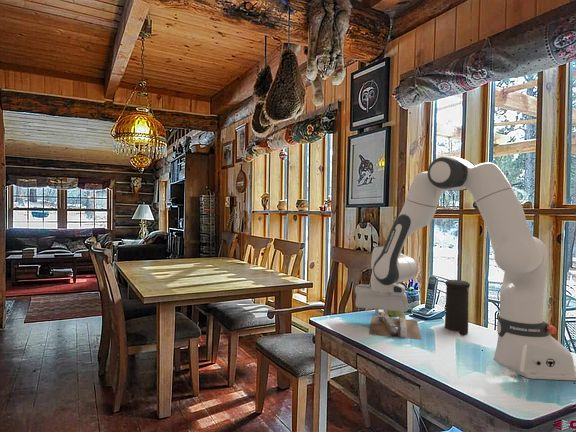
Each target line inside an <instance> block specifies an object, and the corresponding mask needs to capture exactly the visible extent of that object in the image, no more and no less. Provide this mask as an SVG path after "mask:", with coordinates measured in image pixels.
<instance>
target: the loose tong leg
mask: <svg viewBox="0 0 576 432" xmlns="http://www.w3.org/2000/svg"><path fill="white" fill-rule="evenodd" d="M380 314H381V315H382V316H383V314H384V312H381V313H380ZM391 318H392V317H390V315H389V314H388V313H387V314H386V315H385V317H384V321H383V322H384V324H385V325H386V327H387V328H388V330H389V331H390V333H391V335H392V336H398V327H396V325H395V324H394V322H393V321H392V320H391Z"/></svg>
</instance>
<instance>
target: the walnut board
mask: <svg viewBox="0 0 576 432" xmlns="http://www.w3.org/2000/svg"><path fill="white" fill-rule="evenodd" d="M390 318H391V320H392V321H393V322H394V324H395V325H396V327H398V336H392V335H391V333H390V331H389V330H388V328H387V327H386V325H385V324H384V322H383V321H378V316H371V320H370V326H369V331H368V335H370V336H371V335H372V336H379V337H388V338H389V337H391V338H392V337H393V338H400V339H403V338H402V337H401V335H400V323H399V318H392V317H390ZM405 321H406V327H407V338H406V339H411V340H419V341H420V340H421V341H422V335H421V331H420V328H419V324H418V320H416V319H415V320H414V319H406V318H405Z"/></svg>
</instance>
